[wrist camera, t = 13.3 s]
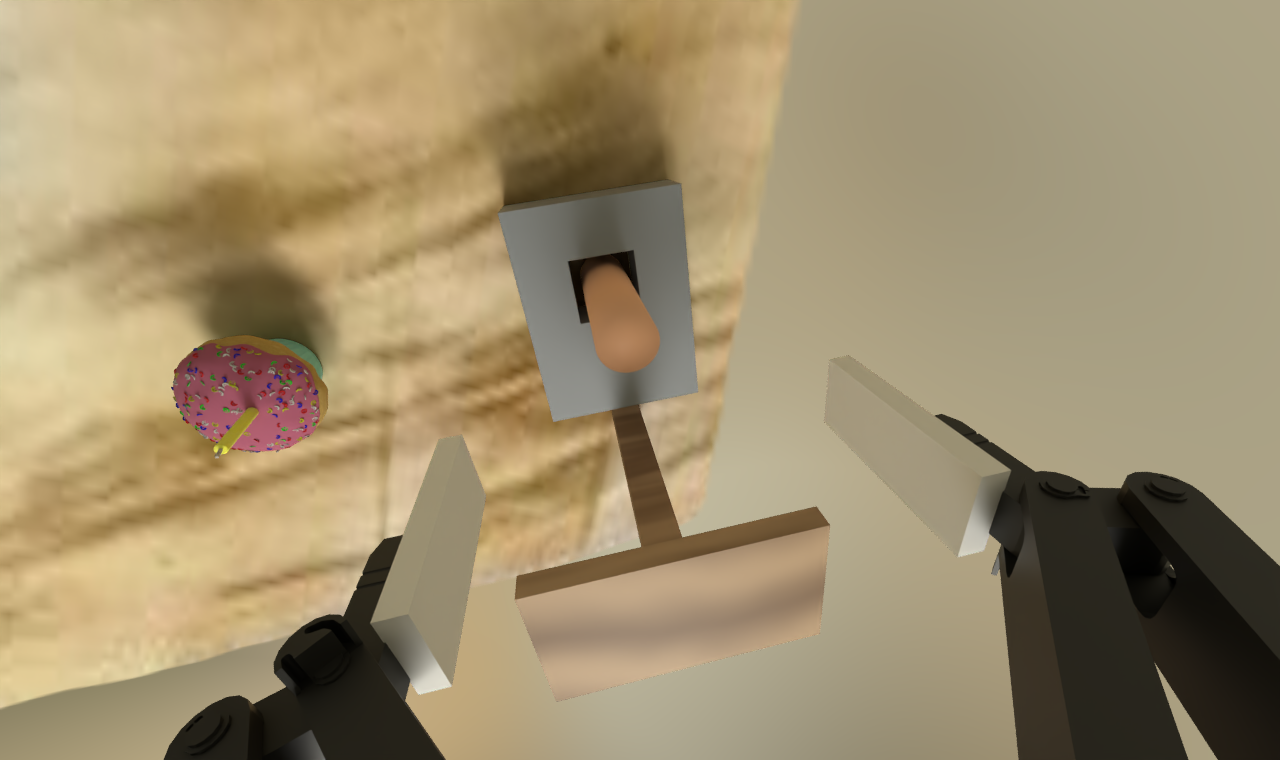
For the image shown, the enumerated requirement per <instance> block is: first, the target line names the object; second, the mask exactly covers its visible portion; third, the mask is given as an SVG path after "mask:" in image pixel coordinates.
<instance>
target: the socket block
mask: <svg viewBox="0 0 1280 760" xmlns="http://www.w3.org/2000/svg"><path fill="white" fill-rule="evenodd" d="M498 216H499V220H500V223H501V227H502V231H503V235H504V238H505V242H506V246H507V250H508V253H509V257H510V261H511V265H512V268H513V272H514V276H515V279H516V283H517V287H518V291H519V294H520V298H521V302H522V306H523V309H524V313H525V317H526V321H527V324H528V328H529V332H530V336H531V339H532V343H533V347H534V350H535V354H536V358H537V362H538V365H539V369H540V373H541V377H542V380H543V384H544V388H545V392H546V395H547V399H548V403H549V407H550V410H551V414H552V418H553V421H559V420H564V419H569V418H574V417H579V416H584V415H589V414H594V413H599V412H604V411H608V410H613V409H618V408H623V407H628V406H633V405H638V404H643V403H648V402H653V401H657V400H662V399H667V398H672V397H677V396H682V395H687V394H692V393H697V392H698V385H697V373H696V361H695V348H694V336H693V324H692V311H691V299H690V287H689V274H688V262H687V250H686V237H685V225H684V213H683V200H682V188H681V183H677V182H674V181H671V180H662V181H656V182H649V183H643V184H637V185H631V186H624V187H618V188H612V189H606V190H599V191H593V192H587V193H581V194H574V195H568V196H562V197H556V198H549V199H543V200H537V201H531V202H525V203H518V204H512V205H506V206H503V207H502V209H501V210H500V211H499V212H498ZM624 251H627V253H628V260H629V267H630V274H631V281H632V285H633V287H634V288H635V290H636V292H637V294H638V295H639V297H640V299H641V301H642V302H643V304H644V306H645V308H646V309H647V311H648V313H649V315H650V316H651V318H652V320H653V322H654V323H655V325H656V327H657V329H658V332H659V335H660V346H659V350H658V352H657V354H656V356H655V358H654V359H653V360H652V361H651V363H649V364H648V365H647V366H646V367H644V368H642V369H640V370H638V371H635V372H629V373H622V372H617V371H614V370H611V369H609V368H608V367H606V366H605V365H604V364H603V363H602V362H601V361H600V359H599V358H598V356H597V353H596V350H595V345H594V340H593V335H592V331H591V326H590V321H589V316H588V312H587V307H586V306H580V307H578V305H577V300H576V295H575V290H574V285H573V280H572V276H571V271H570V266H569V261H572V260H578V259H584V258H589V257H595V256H601V255H607V254H613V253H618V252H624Z"/></svg>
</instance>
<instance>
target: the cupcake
mask: <svg viewBox="0 0 1280 760" xmlns="http://www.w3.org/2000/svg"><path fill="white" fill-rule="evenodd" d="M174 374H175V377H174V381H173V387H171V388H172V390H174V395H175V397H173V398H174V400H175V401H176V402H177V403H176V407H177V408H180V410H181V411H180V413H181V414H182V415H183V420H184V421H185V422H186V423H187V424H188V423H190V424H191V425H192V426H194V427H195V429H196V430H198V431H199V433H200V432H201V433H200V434H201V435H203V437H204V438H205V439H207V438H209V439H210V440H211V441H213V440H214V441H213V442H215V441H216V443H217V444H216V445H215V446H214V451H215V452H216V454H215V458H219V456H220V455H221V454H225V453H227V452H228V451H229V450H230V449H234V450H235V449H238V450H241V451H243V452H246V451H248V452H251V451H252V452H251V453H253V452H260V451H273V450H277V451H276V452H279V450H280V449H285V448H290V447H291V446H293V445H294V444H296V443H298V442H299V441H301V440H303V439H305V438H306V437H309V436H310V435H311V434H312V433H313V432H314V430H315V429H316V427H317V426H318V425H319V424H320V423H321V421H322V420H323V418H324V416H325V414H326V412H327V409H328V389H327V387H326V385H325V384H324V382H323V381H322V375H323V372H322V366H321V364H320V362H319V360H318V358H317V357H316V356H315V354H314V353H313V352H312V351H310V350H309V349H308V348H306V347H305V346H303V345H301V344H299V343H297V342H295V341H291V340H287V339H269V340H266V339H263V338H259V337H255V336H250V335H238V336H231V337H225V338H222V339H215V340H210V341H207V342H205V343H204V344H202V345H201V346H199V347H198V348H194V350H193V351H192V352H191V353H190V354H188V355H187V357H186V358H184V359H183V360H182V361H181V362H180V363H179V365H178V367H177V369H175V370H174ZM177 404H178V406H177ZM184 417H185V419H184ZM187 421H188V422H187Z"/></svg>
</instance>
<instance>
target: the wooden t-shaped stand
mask: <svg viewBox="0 0 1280 760" xmlns="http://www.w3.org/2000/svg"><path fill="white" fill-rule="evenodd" d="M612 415H613V420H614V425H615V430H616V434H617V439H618V443H619V448H620V452H621V457H622V461H623V466H624V470H625V475H626V479H627V484H628V488H629V493H630V497H631V502H632V507H633V511H634V516H635V520H636V525H637V529H638V534H639V538H640V543H641V547H640V548H636V549H631V550H627V551H623V552H618V553H614V554H610V555H605V556H601V557H597V558H593V559H588V560H584V561H579V562H575V563H571V564H567V565H562V566H558V567H554V568H549V569H545V570H541V571H536V572H532V573H528V574H523V575H519V576H517V580H516V592H515V601H516V604H517V606H518V609H519V611H520V614H521V616H522V619H523V621H524V624H525V626H526V628H527V631H528V633H529V635H530V638H531V641H532V643H533V646H534V648H535V650H536V653H537V655H538V657H539V660H540V662H541V665H542V667H543V670H544V672H545V675H546V677H547V680H548V682H549V684H550V687H551V689H552V692H553V694H554V697H555V699H556V701H557V702H558V701H562V700H566V699H570V698H574V697H577V696H581V695H585V694H589V693H593V692H597V691H601V690H604V689H608V688H612V687H616V686H620V685H624V684H628V683H632V682H635V681H639V680H643V679H647V678H651V677H655V676H659V675H662V674H666V673H670V672H674V671H678V670H681V669H686V668H690V667H693V666H697V665H701V664H705V663H709V662H712V661H717V660H721V659H724V658H728V657H732V656H736V655H739V654H744V653H748V652H751V651H755V650H759V649H763V648H766V647H770V646H775V645H779V644H782V643H786V642H790V641H794V640H798V639H802V638H806V637H809V636H813V635H817V634H820V625H821V614H822V603H823V593H824V583H825V573H826V563H827V552H828V541H829V530H830V524H829V523H828V522H827V520H826V519H825V518H824V516H823V515H822V514H821V512H820V511H819V510H818V508H817V507H812V508H808V509H804V510H799V511H795V512H790V513H786V514H782V515H777V516H773V517H769V518H765V519H760V520H756V521H752V522H747V523H743V524H739V525H735V526H730V527H726V528H721V529H717V530H713V531H709V532H704V533H701V534H696V535H691V536H687V537H683V538H682V536H681V532H680V530H679V526H678V523H677V520H676V517H675V514H674V511H673V508H672V505H671V502H670V499H669V496H668V493H667V490H666V487H665V484H664V481H663V478H662V475H661V472H660V469H659V466H658V463H657V460H656V457H655V454H654V451H653V448H652V445H651V442H650V439H649V436H648V433H647V430H646V426H645V423H644V420H643V417H642V414H641V411H640V408H639V405H633V406H628V407H623V408H618V409H613V410H612Z"/></svg>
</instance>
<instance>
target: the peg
mask: <svg viewBox="0 0 1280 760" xmlns="http://www.w3.org/2000/svg"><path fill="white" fill-rule="evenodd" d="M580 278H581V283H582V288H583V292H584V297H585V302H586V307H587V312H588V316H589V321H590V326H591V331H592V335H593V340H594V345H595V350H596V353H597V356H598V358H599V359H600V361H601V362H602V363H603V364H604V365H605V366H606V367H608V368H609V369H611V370H614V371H617V372H622V373H629V372H635V371H638V370H640V369H642V368H644V367H646V366H647V365H648V364H649V363H651V361H652V360H653V359H654V358H655V356H656V354H657V352H658V350H659V346H660V335H659V332H658V329H657V327H656V325H655V323H654V322H653V320H652V318H651V316H650V315H649V313H648V311H647V309H646V308H645V306H644V304H643V302H642V301H641V299H640V297H639V295H638V294H637V292H636V290H635V288H634V287H633V285H632V283H631V281H630V280H629V278H628V276H627V274H626V273H625V271H624V269H623V267H622V266H621V264H620V262H619V261H618V260H617V259H616V258H615V257H613V256H612V255H609V254H607V255H601V256H595V257H589V258H588V259H587V260H586V261H585V262H584V264H583V265H582V268H581V272H580Z"/></svg>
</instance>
